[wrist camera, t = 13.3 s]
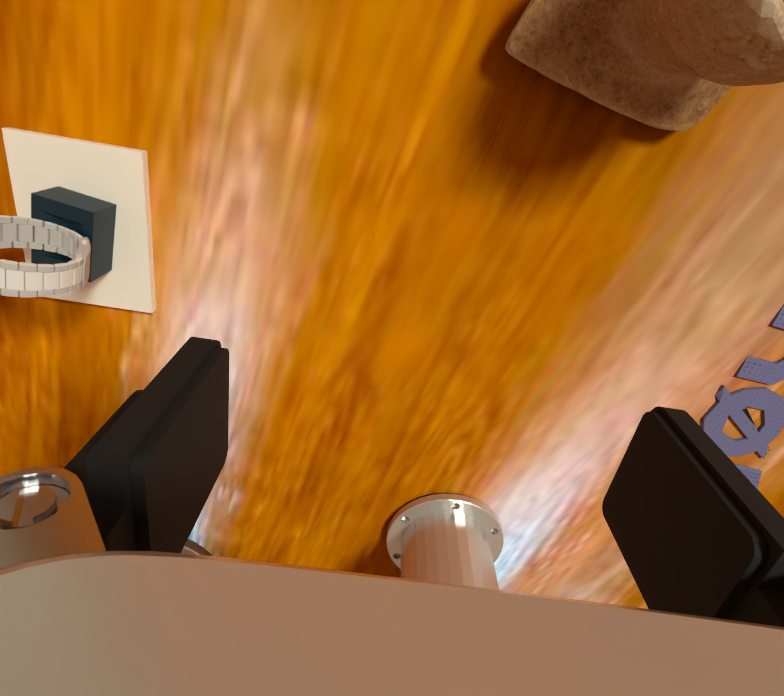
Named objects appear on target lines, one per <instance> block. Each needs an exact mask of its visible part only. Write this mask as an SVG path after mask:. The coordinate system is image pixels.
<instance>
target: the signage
mask: <svg viewBox="0 0 784 696" xmlns="http://www.w3.org/2000/svg"><path fill="white" fill-rule="evenodd" d="M770 325H772V326H775V327H778V328H782V329H784V305H783V306H782V308H781V309H780V311H779V312H778V314H777V315H776V316H775V318H774V319H773V321H772V322H771V324H770ZM735 375H736V376H737V377H741V378H745V379H749V380H753V381H757V382H762V383H766V384H770V385H773V384H775V383H777V382H780V381H782V380H784V358H783V359H781V360H779V361H775V362H770V361H766V360H762V359H758V358H754V357H750V356H748V357H747V358H746V360H745V361H744V362H743V364H742V365H741V367H740V368H739V370H738V371H737V373H736V374H735ZM715 396H716V398H717V399H718V401H717V402H716V403H715V404H714V405H713V406H712V407H711V408H710V409H709V410H708V411H707V413H706V414H705V415H704V416H703V419H702V424H701V428H702V429H703V430H704V431H705V433H706V434H707V435H708V436H709V437H710V438H711V439H712V440H713V441H714V442H715V443H716V445H717V446H718V447H719V448H720V449H721V450H722V451H723V452H724V453H725V454H726V456H734V457H736V456H740V455H744V454H748V453H752V452H756V451H757V452H758V454H759V455H760V456H761V457H762V458H763V459H764V457H765V454H767V453H766V452H767V450H768V451H769V449H768V448H769V447H768V444H769V443H770V442H771V441H772V440H773V439H774V438H775V437H776V436H777V435H779V434H780V432H781V429H782V427H783V425H784V400H783V398H782V396H780V395H778V394H777V393H775V392H773V391H771V390H770V389H768V388H766V387H753V388H742V389H739V390H736V391H734V392H731V393H729V392H728V391H727V389H726V388H725V386H723V385H722V386H721V388H720V389H719V390H718V392H717V393H716V395H715ZM746 406H747V407H751V408H756V409H760V410H763V424H762V425H761V426H760V427H759V429H758V430H757V429H756V427H755V425H754V422H753V420H752V418H751V416H750V414H749V412H748V410H747V408H746ZM728 416H729V417H730V418H731V419H732V420H733V421H734V423H735V424H736V425H737V426H738V427H739V429H740V430H741V431H742V432H743V434H744V435H745V436H746V437H744V438H738V439H732V438H730V437H729V436H727V435H726V434H724V433H722V431H723V428H724V426H725V423H726V421H727V418H728ZM735 465H736V466H737V468H738V469H739V470H740V471H741V472H742V473H743V474H744V475H745V476H746V477H747V479H748V480H749V481H750V482H751V483H752V484H753V485H754V486H755V487H756V488H758V484H759V480H760V476H761V473H762V471H760V470H757V469H754V468H750V467H746V466H742V465H738V464H735Z"/></svg>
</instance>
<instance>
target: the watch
mask: <svg viewBox="0 0 784 696" xmlns="http://www.w3.org/2000/svg"><path fill="white" fill-rule="evenodd" d="M116 205H117V204H113V203H110V202H107V201H104V200H101V199H98V198H94V197H91V196H88V195H85V194H82V193H78V192H75V191H72V190H69V189H66V188H63V187H59V186H57V187H53V188H49V189H45V190H41V191H37V192H34V193H31V218H26V217H19V216H12V219H11V216H5V215H0V249H1V248H12V246H13V247H14V248H28V242H29V248H30V249H31V263H25V262H20V263H19V269H18V262H16V261H10V260H5V259H1V260H0V294H1V295H2V296H11V297H18V296H19V297H37V296H38V297H46V296H53V295H60V294H64V293H68V292H72V291H74V290H76V289H77V288H80V287H84V286H85V285H86V283H87V282H90V283H91V282H92V281H94V280H96V279H97V278H99V277H101V276H102V275H104V274H106V273H108V272H109V271H111V270H112V260H113V246H114V232H115V219H116ZM17 224H18V240H17ZM24 271H25V289H24Z"/></svg>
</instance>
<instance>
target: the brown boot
mask: <svg viewBox="0 0 784 696" xmlns="http://www.w3.org/2000/svg"><path fill="white" fill-rule="evenodd" d="M505 50H506V51H507V52H508V54H509V55H511V56H512V57H514V58H515V59H517V60H519V61H520V62H522V63H524V64H525V65H527V66H529V67H530V68H532V69H534V70H536V71H538V72H539V73H541V74H542V75H544V76H546V77H548V78H550V79H551V80H553V81H555V82H557V83H559V84H561V85H563V86H565V87H568V88H570V89H572V90H574V91H577V92H578V93H580V94H582V95H584V96H586V97H587V98H589V99H591V100H593V101H595V102H597V103H599V104H601V105H603V106H605V107H607V108H609V109H611V110H613V111H615V112H618V113H620V114H623V115H625V116H628V117H630V118H632V119H635V120H637V121H639V122H642V123H644V124H646V125H648V126H651V127H655V128H658V129H664V130H674V131H684V130H687V129H689V128H691V127H693V126H694V125H696V124H697V123H699V122H700V121H701V120H702V119H703V118H704V117H705V116H706V115H707V114H708V113H709V112H710V111H711V110H712V109H713V108H714V107H715V106H716V104H717V103H718V102H719V101H720V100H721V99H722V98H723V96H724V95H725V94H726V93H727V92H728V90H729V89H730V88H731V86H750V85H763V84H774V83H779V82H784V0H530V2H529V4H528V5H527V7H526V9H525V10H524V12H523V13H522V15H521V17H520V18H519V20H518V22H517V24H516V25H515V27H514V28H513V30H512V31H511V34H510V36H509V38H508V39H507V41H506V45H505Z"/></svg>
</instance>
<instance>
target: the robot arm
mask: <svg viewBox="0 0 784 696" xmlns="http://www.w3.org/2000/svg"><path fill="white" fill-rule="evenodd" d="M228 404H229V351H228V349H226V348H221V344H220V342H219V341H217V340H211V339H204V338H197V337H191V338H190V339H189V340H188V341H187V342H186V343H185V344H184V345H183V346H182V347H181V349H180V350H179V351H178V352H177V353H176V354H175V355H174V356H173V358H172V359H171V360H170V361H169V362H168V363H167V364H166V365H165V367H164V368H163V369H162V370H161V371H160V372H159V373H158V374H157V376H156V377H155V378H154V379H153V380H152V381H151V382H150V383H149V385H148V386H147V387H146V388H145V389H144V390H138V391H135V392H134V393H133V394H132V395H131V396H130V397H129V398H128V399H127V400H126V401H125V402H124V403H123V404H122V406H121V407H120V408H119V409H118V410H117V411H116V412H115V413H114V414H113V415H112V416H111V418H110V419H109V420H108V421H107V422H106V423H105V424H104V425H103V426H102V427H101V428H100V430H99V431H98V432H97V433H96V434H95V435H94V436H93V437H92V438H91V439H90V440H89V442H88V443H87V444H86V445H85V446H84V447H83V448H82V449H81V450H80V451H79V452H78V454H77V455H76V456H75V457H74V458H73V459H72V460H71V461H70V462H69V463H68V464H67V466H66V467H65V468H64V469H62V468H57V467H33V468H28V469H23V470H18V471H15V472H12V473H10V474H7V475H4V476H1V477H0V696H784V518H783V517H782V516H781V515H780V514H779V513H778V511H777V510H776V509H775V508H774V507H773V506H772V505H771V504H770V503H769V502H768V500H767V499H766V498H765V497H764V496H763V495H762V494H761V493H760V492H759V491H758V489H757V488H756V487H755V486H754V485H753V484H752V483H751V482H750V481H749V480H748V479H747V477H746V476H745V475H744V474H743V473H742V472H741V471H740V470H739V469H738V468H737V466H736V465H735V464H734V463H733V462H732V461H731V460H730V459H729V458H728V457H727V456H726V454H725V453H724V452H723V451H722V450H721V449H720V448H719V447H718V446H717V445H716V443H715V442H714V441H713V440H712V439H711V438H710V437H709V436H708V435H707V434H706V433H705V431H704V430H703V429H702V428H701V427H700V426H699V425H698V424H697V423H696V422H695V420H694V419H693V418H692V417H691V416H690V415H689V414H688V413H687V412H686V411H684V410H678V409H671V408H665V407H655V408H654V409H653V410H651V412H646V413H645V414H644V415H643V417H642V419H641V421H640V423H639V425H638V427H637V429H636V432H635V434H634V436H633V438H632V440H631V442H630V444H629V446H628V449H627V451H626V453H625V455H624V457H623V459H622V461H621V464H620V466H619V468H618V470H617V472H616V474H615V476H614V478H613V481H612V483H611V485H610V487H609V489H608V491H607V493H606V495H605V498H604V500H603V505H602V510H603V515H604V518H605V520H606V522H607V524H608V526H609V528H610V530H611V532H612V534H613V536H614V538H615V540H616V542H617V544H618V546H619V548H620V551H621V553H622V555H623V557H624V559H625V561H626V563H627V565H628V567H629V569H630V571H631V573H632V575H633V577H634V579H635V581H636V584H637V586H638V588H639V590H640V592H641V594H642V596H643V598H644V600H645V602H646V604H647V606H648V608H649V609H643V608H635V607H628V606H620V605H612V604H605V603H597V602H590V601H582V600H574V599H566V598H558V597H550V596H542V595H535V594H527V593H519V592H511V591H503V590H499V588H498V583H497V578H496V573H495V567H494V562H495V561H496V560H497V559H498V557H499V555H500V553H501V551H502V547H503V532H502V528H501V524H500V522H499V520H498V518H497V516H496V515H495V514H494V513H493V511H492V510H491V509H489V508H488V507H487V506H486V505H484V504H483V503H481V502H479V501H477V500H475V499H473V498H470V497H467V496H463V495H457V494H435V495H429V496H425V497H422V498H419V499H416V500H414V501H412V502H410V503H408V504H407V505H405V506H404V507H402V508H401V509H400V510H399V511H398V512H397V513H396V514H395V515H394V517H393V518H392V520H391V521H390V523H389V526H388V529H387V537H386V544H387V550H388V553H389V556H390V558H391V559H392V561H393V562H394V563H395V565H396V566H397V567H398V568H399V569H401V578H398V577H389V576H381V575H373V574H364V573H356V572H348V571H339V570H331V569H323V568H314V567H306V566H297V565H289V564H281V563H272V562H264V561H255V560H247V559H238V558H229V557H218V556H206V555H194V554H182V553H181V552H182V550H183V548H184V546H185V544H186V541H187V539H188V537H189V535H190V533H191V531H192V529H193V527H194V525H195V523H196V521H197V519H198V517H199V515H200V513H201V511H202V509H203V507H204V505H205V502H206V500H207V498H208V496H209V494H210V492H211V490H212V488H213V486H214V484H215V482H216V480H217V478H218V476H219V474H220V472H221V470H222V468H223V466H224V463H225V460H226V457H227V451H228Z"/></svg>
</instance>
